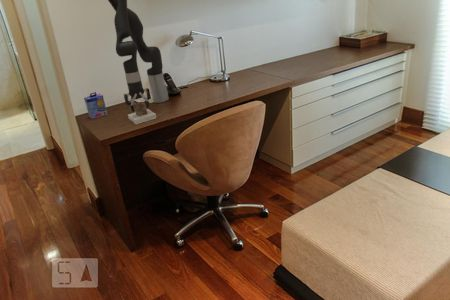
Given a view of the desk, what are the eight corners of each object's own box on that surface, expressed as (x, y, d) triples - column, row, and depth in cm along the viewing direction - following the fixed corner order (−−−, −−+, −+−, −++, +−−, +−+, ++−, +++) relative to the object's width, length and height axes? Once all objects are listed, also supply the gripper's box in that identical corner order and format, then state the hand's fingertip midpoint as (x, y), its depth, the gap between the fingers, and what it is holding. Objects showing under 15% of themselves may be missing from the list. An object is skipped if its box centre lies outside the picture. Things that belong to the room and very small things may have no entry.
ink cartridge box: (92, 119, 208) (84, 95, 202) (89, 117, 212) (81, 93, 206) (108, 114, 213) (101, 90, 207) (105, 112, 217) (98, 89, 211)
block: (144, 111, 202) (142, 101, 199) (147, 113, 198) (145, 103, 195) (135, 114, 200) (133, 103, 197) (138, 116, 196) (136, 105, 193)
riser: (148, 112, 207) (147, 108, 206) (156, 118, 198) (155, 113, 197) (128, 118, 202) (127, 114, 201) (135, 124, 193) (134, 119, 191)
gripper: (144, 75, 196) (150, 104, 204) (118, 82, 190) (125, 111, 197) (149, 78, 190) (155, 107, 198) (122, 84, 184) (130, 114, 191)
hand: (140, 109), depth 197 cm, fingers open, 7 cm apart
